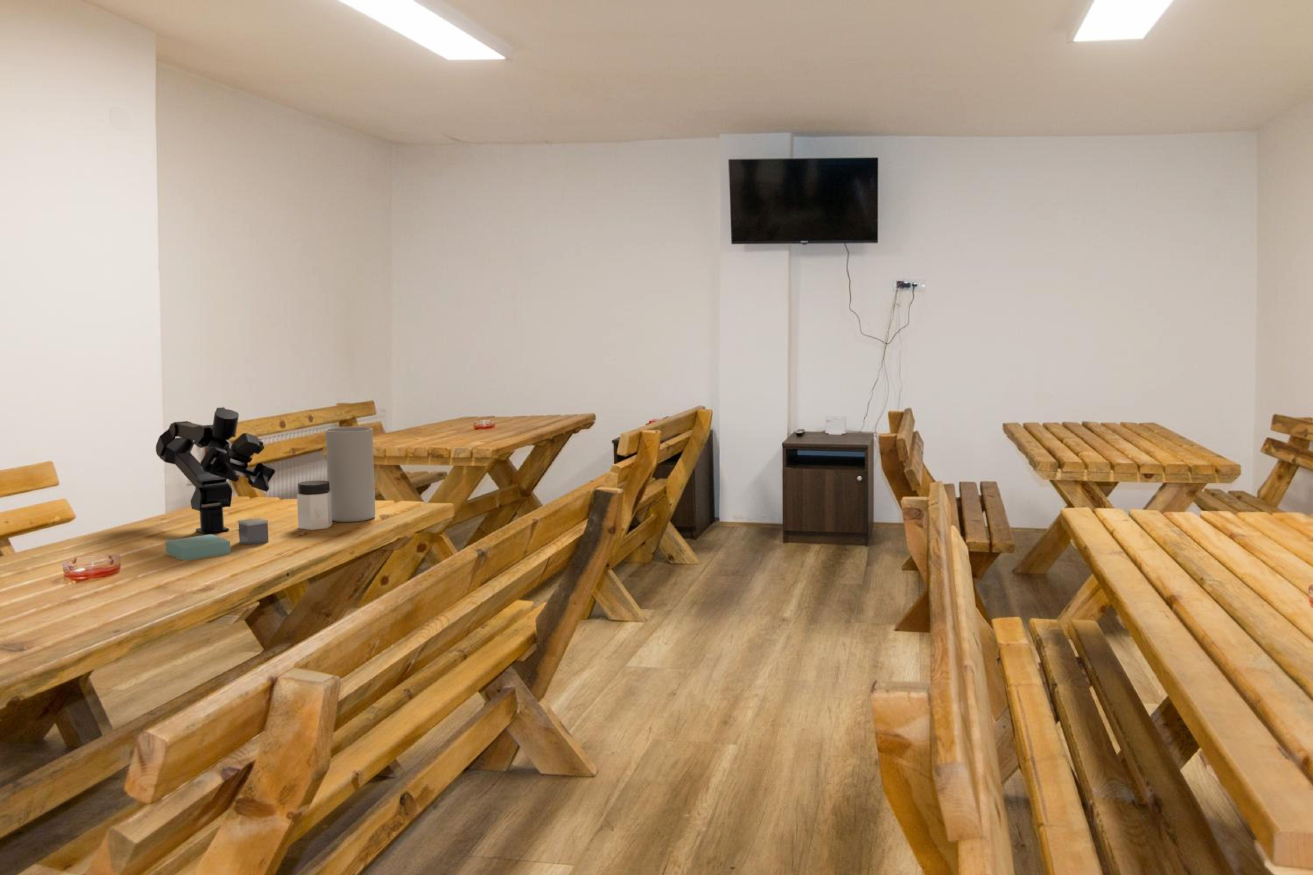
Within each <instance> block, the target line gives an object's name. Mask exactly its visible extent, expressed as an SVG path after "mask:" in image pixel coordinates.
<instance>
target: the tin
mask: <svg viewBox="0 0 1313 875" xmlns="http://www.w3.org/2000/svg"><path fill="white" fill-rule="evenodd" d="M237 523H238V537H239V538H238V540H239V543H241V544H244V545H246V546H252V545H259V544H266V543H269V527H268V526H269V520H267V519H264V518H261V517H255V518H246V519H240V520H237Z"/></svg>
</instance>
